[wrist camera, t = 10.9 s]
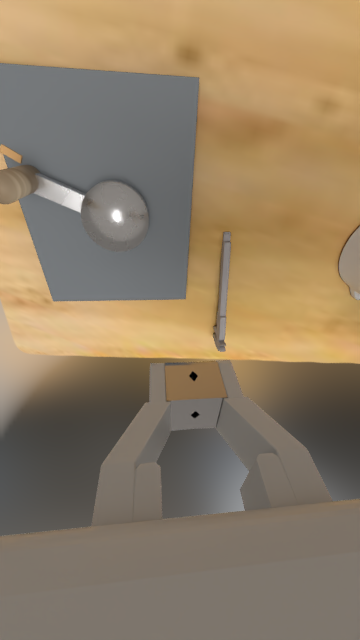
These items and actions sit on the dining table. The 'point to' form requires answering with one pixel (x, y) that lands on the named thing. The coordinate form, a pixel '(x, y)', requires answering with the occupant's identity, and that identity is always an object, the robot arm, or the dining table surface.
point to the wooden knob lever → (86, 205)
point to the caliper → (223, 294)
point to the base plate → (104, 172)
